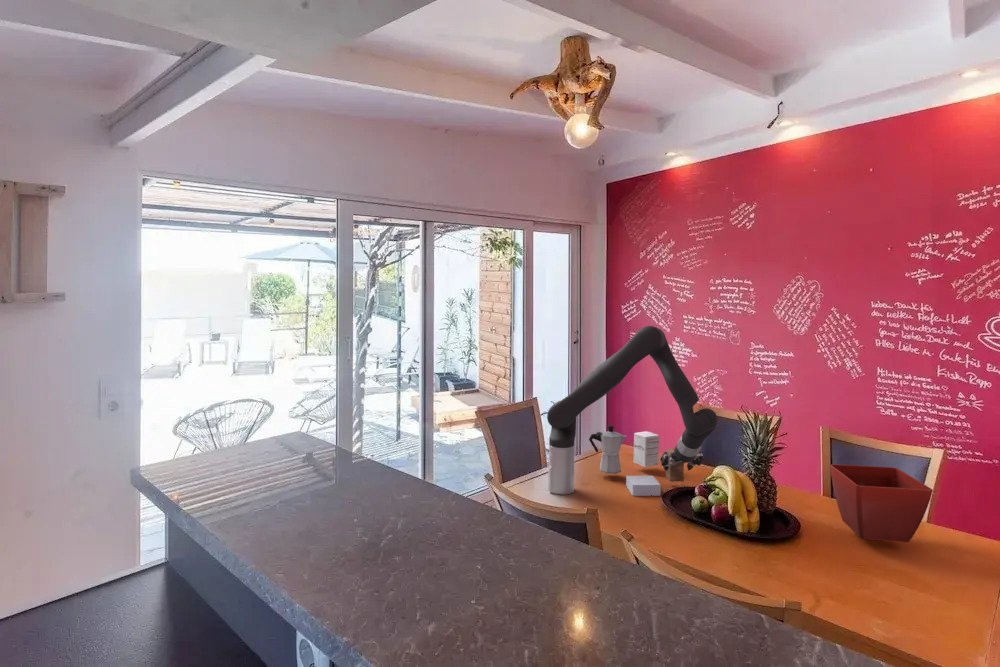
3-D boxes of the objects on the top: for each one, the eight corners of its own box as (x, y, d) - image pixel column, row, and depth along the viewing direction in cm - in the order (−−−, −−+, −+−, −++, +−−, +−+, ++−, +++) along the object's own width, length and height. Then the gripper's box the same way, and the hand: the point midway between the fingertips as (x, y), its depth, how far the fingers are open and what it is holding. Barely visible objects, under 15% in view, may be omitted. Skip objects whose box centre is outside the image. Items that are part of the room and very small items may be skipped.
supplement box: (632, 462, 226) (633, 432, 225) (647, 460, 229) (647, 430, 228) (644, 467, 219) (645, 436, 218) (659, 465, 222) (659, 434, 221)
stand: (632, 495, 197) (632, 485, 197) (626, 486, 207) (626, 475, 207) (660, 495, 197) (660, 484, 197) (652, 485, 207) (652, 475, 207)
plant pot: (931, 549, 149) (934, 489, 148) (854, 544, 153) (857, 485, 151) (894, 520, 168) (896, 467, 167) (826, 516, 172) (828, 463, 170)
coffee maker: (625, 467, 220) (625, 423, 219) (628, 474, 211) (628, 428, 210) (587, 466, 222) (588, 422, 220) (589, 473, 213) (589, 427, 212)
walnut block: (670, 481, 203) (670, 452, 203) (665, 476, 208) (666, 448, 208) (683, 481, 203) (684, 452, 203) (678, 476, 208) (679, 448, 208)
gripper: (705, 437, 194) (693, 458, 206) (665, 437, 193) (655, 459, 206) (711, 456, 189) (698, 477, 201) (670, 456, 189) (659, 477, 201)
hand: (676, 468), depth 203 cm, fingers open, 8 cm apart
